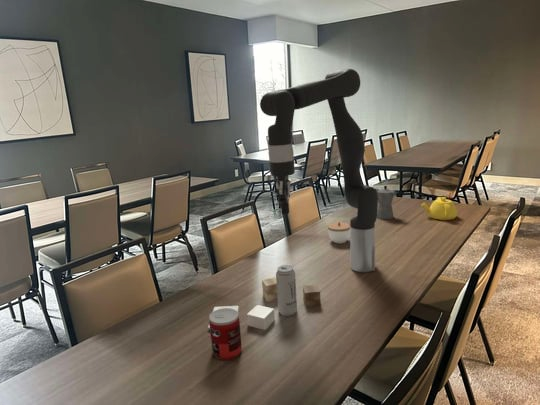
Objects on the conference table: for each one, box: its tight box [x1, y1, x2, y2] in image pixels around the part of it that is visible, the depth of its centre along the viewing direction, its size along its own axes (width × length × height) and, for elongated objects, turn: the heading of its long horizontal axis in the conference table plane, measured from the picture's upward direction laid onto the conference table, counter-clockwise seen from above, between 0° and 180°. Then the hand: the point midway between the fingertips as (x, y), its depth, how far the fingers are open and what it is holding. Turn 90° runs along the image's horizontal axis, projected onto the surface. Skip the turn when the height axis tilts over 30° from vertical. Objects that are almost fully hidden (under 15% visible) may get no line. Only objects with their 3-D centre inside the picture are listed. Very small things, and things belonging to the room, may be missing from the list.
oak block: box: [261, 276, 278, 303], centre depth 131 cm, size 5×5×6 cm
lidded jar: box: [327, 221, 350, 244], centre depth 180 cm, size 11×11×9 cm
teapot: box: [421, 196, 458, 221], centre depth 206 cm, size 20×18×11 cm
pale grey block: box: [246, 304, 276, 331], centre depth 116 cm, size 6×6×4 cm
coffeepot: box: [374, 185, 398, 220], centre depth 213 cm, size 15×9×18 cm, turn 44°
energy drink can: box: [275, 264, 298, 317], centre depth 120 cm, size 6×6×15 cm
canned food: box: [208, 308, 243, 361], centre depth 102 cm, size 8×8×11 cm
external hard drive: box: [207, 305, 240, 332], centre depth 120 cm, size 2×8×12 cm
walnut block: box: [302, 284, 322, 308], centre depth 126 cm, size 5×5×5 cm
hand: (285, 213), depth 120 cm, fingers closed
